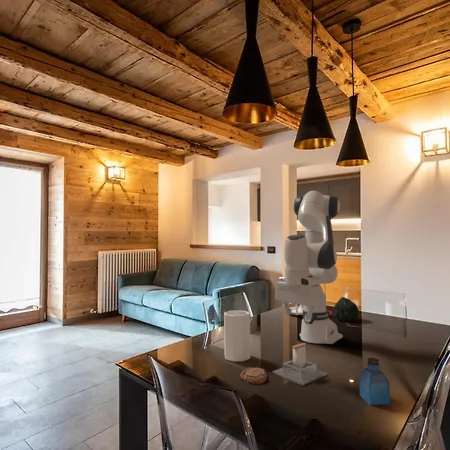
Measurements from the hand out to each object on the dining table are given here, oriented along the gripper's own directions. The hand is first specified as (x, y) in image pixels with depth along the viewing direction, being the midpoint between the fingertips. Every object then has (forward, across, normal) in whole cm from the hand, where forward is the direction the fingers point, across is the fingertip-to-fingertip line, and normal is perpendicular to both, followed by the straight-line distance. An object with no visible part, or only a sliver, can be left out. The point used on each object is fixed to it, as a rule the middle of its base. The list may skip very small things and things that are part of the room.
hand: (298, 316), depth 121 cm
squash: (+23, -34, +87) cm, 97 cm away
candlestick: (+23, -61, +77) cm, 101 cm away
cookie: (+21, -8, -16) cm, 28 cm away
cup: (+21, -28, -7) cm, 36 cm away
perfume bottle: (+21, +27, +1) cm, 34 cm away
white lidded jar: (+20, 0, 0) cm, 20 cm away
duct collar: (+21, 0, -1) cm, 21 cm away
